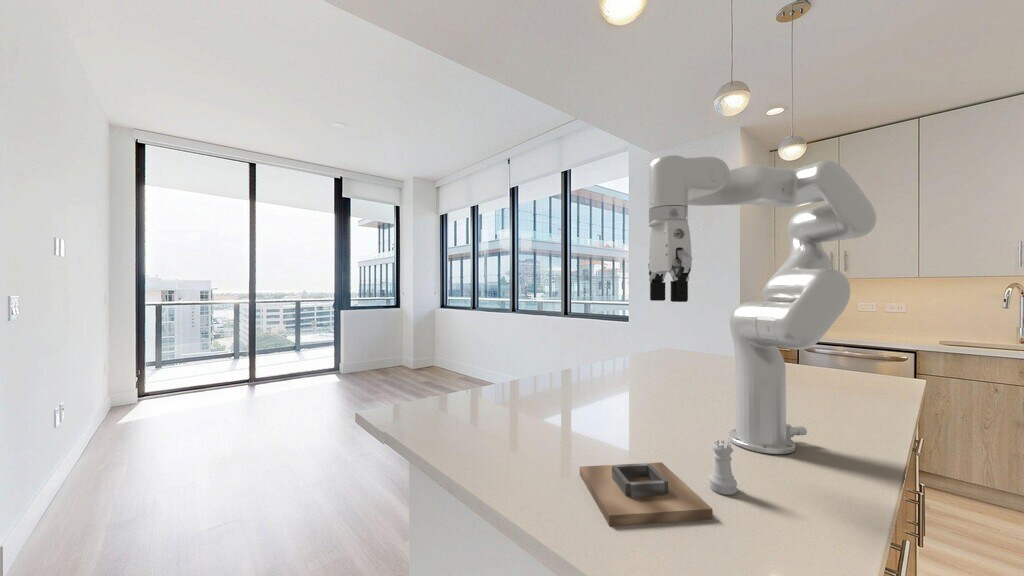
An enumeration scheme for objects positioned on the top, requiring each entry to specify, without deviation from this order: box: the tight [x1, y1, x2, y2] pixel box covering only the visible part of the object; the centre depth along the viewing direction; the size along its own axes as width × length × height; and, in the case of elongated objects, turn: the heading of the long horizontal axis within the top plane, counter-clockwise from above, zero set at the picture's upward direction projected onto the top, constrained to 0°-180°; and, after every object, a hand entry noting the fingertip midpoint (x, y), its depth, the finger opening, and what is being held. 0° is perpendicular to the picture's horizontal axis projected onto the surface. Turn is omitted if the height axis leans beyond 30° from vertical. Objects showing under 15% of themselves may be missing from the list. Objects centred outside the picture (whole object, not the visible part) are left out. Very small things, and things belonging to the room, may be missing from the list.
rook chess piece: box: [708, 439, 738, 496], centre depth 68 cm, size 4×4×8 cm
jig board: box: [579, 461, 714, 527], centre depth 66 cm, size 16×16×4 cm
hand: (667, 301), depth 81 cm, fingers open, 9 cm apart
